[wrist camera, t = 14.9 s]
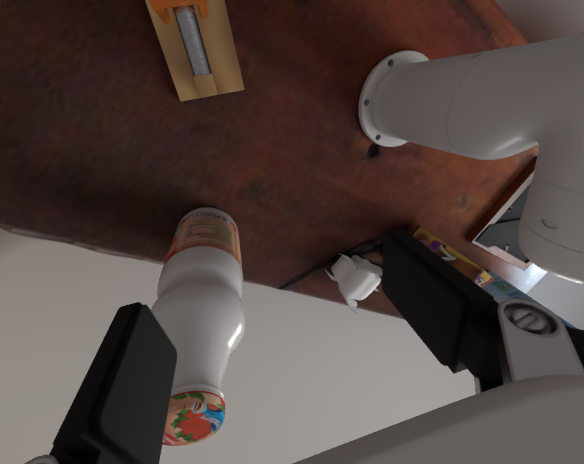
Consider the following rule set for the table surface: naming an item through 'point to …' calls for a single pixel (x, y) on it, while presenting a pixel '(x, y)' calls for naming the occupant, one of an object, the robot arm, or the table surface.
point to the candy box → (454, 258)
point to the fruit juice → (200, 320)
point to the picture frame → (506, 222)
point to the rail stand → (199, 50)
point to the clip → (161, 3)
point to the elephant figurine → (355, 278)
